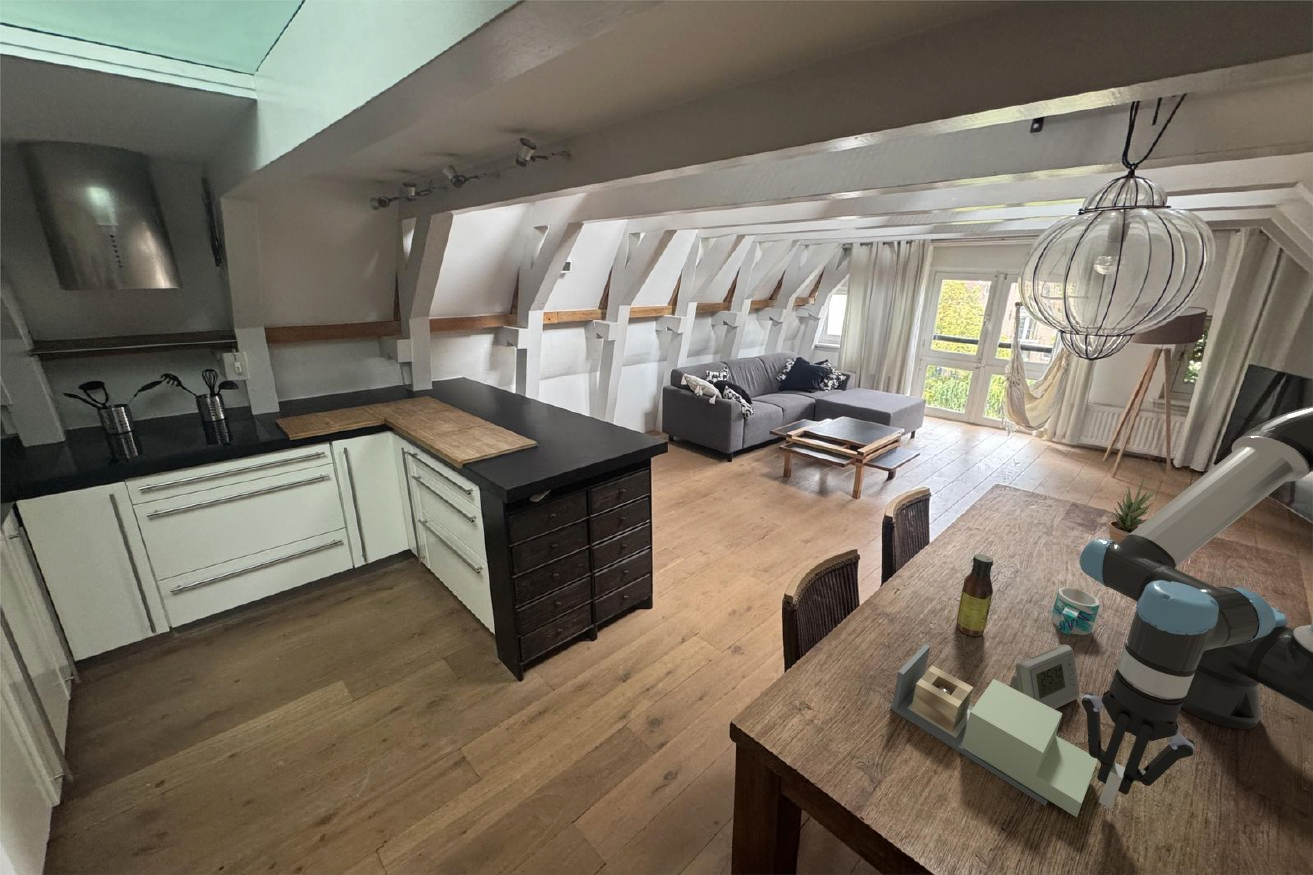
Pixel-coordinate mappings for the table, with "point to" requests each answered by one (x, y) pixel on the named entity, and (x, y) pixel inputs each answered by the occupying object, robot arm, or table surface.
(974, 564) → the sauce bottle
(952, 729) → the birch collar
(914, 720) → the housing base
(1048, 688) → the digital clock
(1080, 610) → the mug
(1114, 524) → the potted plant
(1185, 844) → the table surface
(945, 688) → the steel pin
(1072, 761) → the sage cover
